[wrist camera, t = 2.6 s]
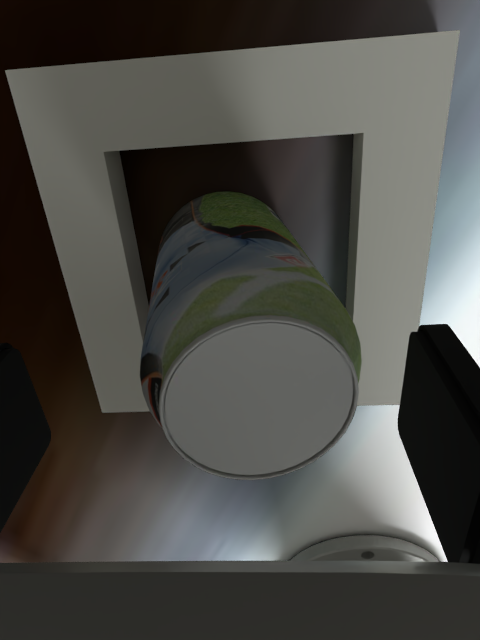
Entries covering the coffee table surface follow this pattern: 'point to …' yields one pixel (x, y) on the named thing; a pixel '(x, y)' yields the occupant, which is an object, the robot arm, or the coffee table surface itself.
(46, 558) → the coffee table surface
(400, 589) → the robot arm
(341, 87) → the can holder
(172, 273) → the beverage can
